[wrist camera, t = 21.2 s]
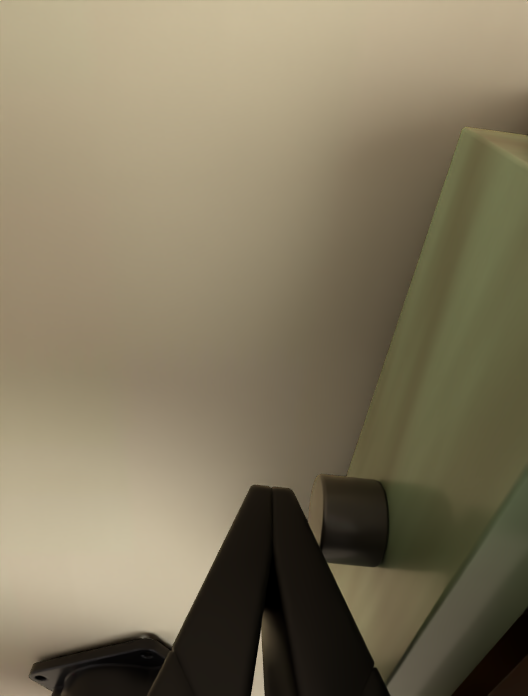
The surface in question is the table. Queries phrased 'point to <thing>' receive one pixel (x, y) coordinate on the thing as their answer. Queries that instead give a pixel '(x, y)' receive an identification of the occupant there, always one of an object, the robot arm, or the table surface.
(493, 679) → the drawer
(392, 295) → the table surface
